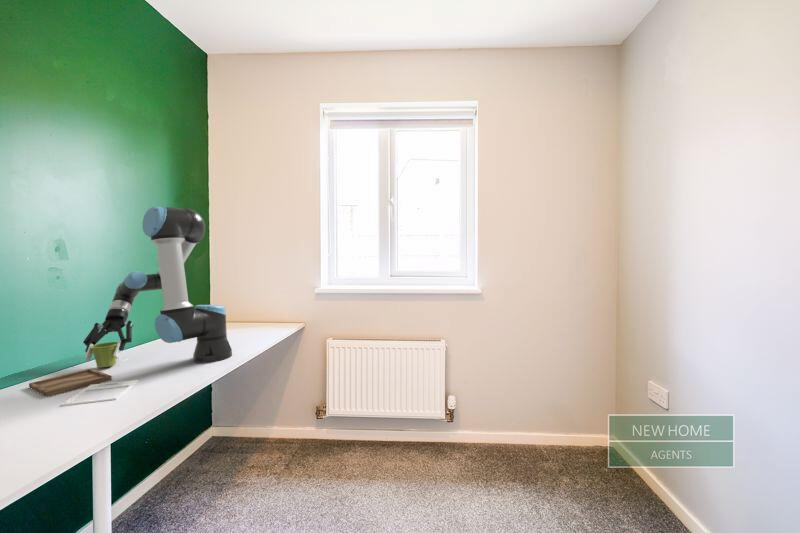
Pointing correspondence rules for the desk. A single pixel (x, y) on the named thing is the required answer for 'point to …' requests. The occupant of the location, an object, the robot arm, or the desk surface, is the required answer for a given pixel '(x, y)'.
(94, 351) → the plant pot
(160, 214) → the robot arm
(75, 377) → the walnut tray
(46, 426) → the desk surface
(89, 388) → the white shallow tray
